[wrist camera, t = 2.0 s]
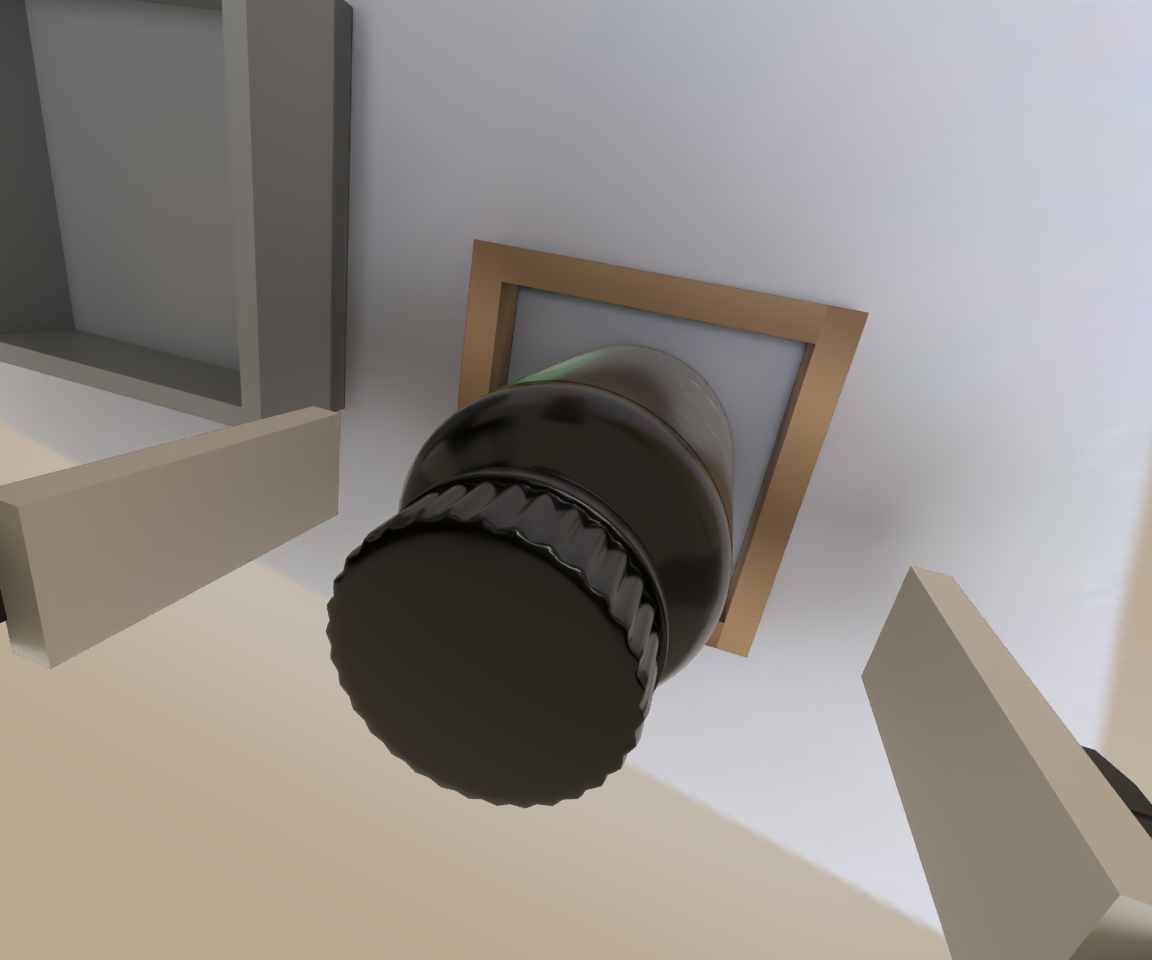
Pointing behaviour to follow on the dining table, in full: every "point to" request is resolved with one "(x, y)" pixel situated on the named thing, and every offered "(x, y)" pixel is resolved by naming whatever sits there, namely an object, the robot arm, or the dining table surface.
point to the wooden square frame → (816, 324)
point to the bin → (177, 199)
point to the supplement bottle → (542, 577)
